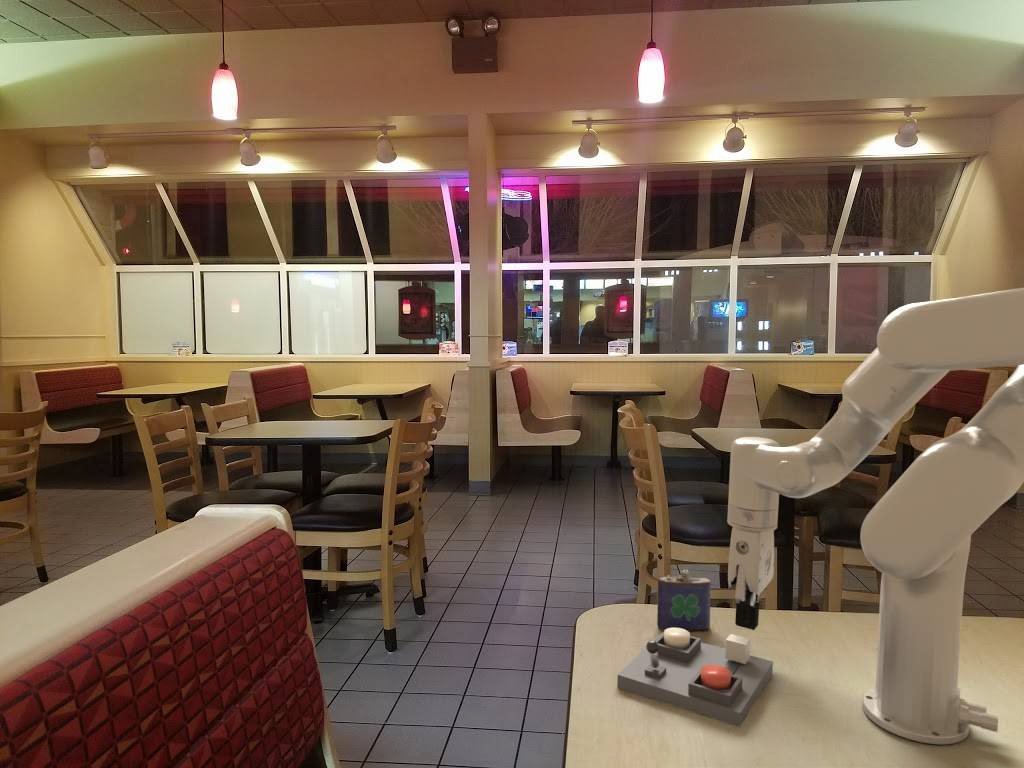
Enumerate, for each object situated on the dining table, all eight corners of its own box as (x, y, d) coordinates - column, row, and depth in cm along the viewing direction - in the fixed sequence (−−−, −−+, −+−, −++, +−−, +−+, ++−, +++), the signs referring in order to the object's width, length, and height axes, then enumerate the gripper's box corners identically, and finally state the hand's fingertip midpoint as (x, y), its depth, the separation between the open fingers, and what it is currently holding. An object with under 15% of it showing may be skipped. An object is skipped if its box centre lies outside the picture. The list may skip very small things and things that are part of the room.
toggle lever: (663, 664, 103) (659, 639, 101) (659, 672, 102) (655, 648, 100) (652, 660, 104) (648, 636, 102) (647, 669, 103) (643, 645, 101)
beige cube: (749, 657, 107) (750, 638, 106) (745, 664, 105) (745, 644, 104) (730, 652, 108) (730, 633, 108) (725, 658, 106) (726, 639, 106)
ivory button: (693, 641, 110) (693, 631, 110) (684, 651, 107) (684, 641, 107) (669, 634, 113) (669, 625, 112) (659, 644, 109) (660, 634, 109)
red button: (734, 680, 98) (734, 669, 98) (725, 693, 95) (725, 682, 95) (706, 672, 100) (706, 662, 100) (696, 684, 97) (697, 673, 97)
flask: (708, 625, 124) (709, 567, 122) (712, 633, 121) (713, 573, 120) (655, 624, 124) (656, 566, 123) (658, 632, 121) (659, 572, 120)
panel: (772, 673, 107) (773, 651, 106) (739, 727, 93) (740, 701, 92) (661, 643, 117) (662, 622, 116) (617, 687, 103) (617, 664, 102)
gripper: (764, 532, 102) (757, 651, 104) (788, 508, 114) (782, 615, 116) (713, 522, 106) (708, 637, 108) (742, 501, 118) (737, 604, 120)
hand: (746, 625), depth 112 cm, fingers closed
